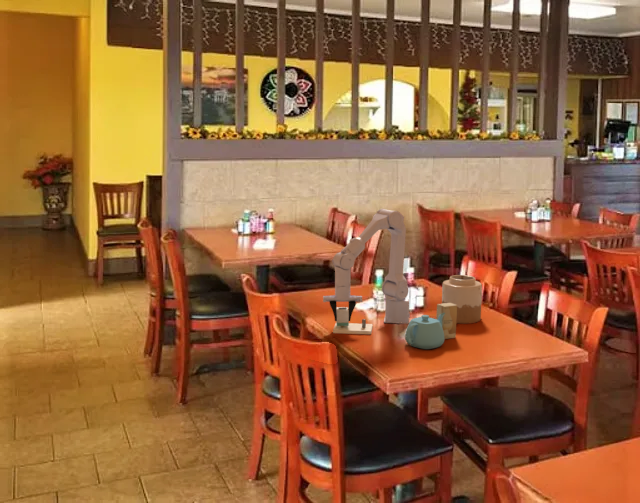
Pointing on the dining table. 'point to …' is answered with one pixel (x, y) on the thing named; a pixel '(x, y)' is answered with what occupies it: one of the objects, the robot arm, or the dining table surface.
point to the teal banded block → (342, 316)
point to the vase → (463, 297)
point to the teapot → (425, 332)
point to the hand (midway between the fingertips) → (342, 320)
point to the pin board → (354, 328)
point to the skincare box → (448, 319)
